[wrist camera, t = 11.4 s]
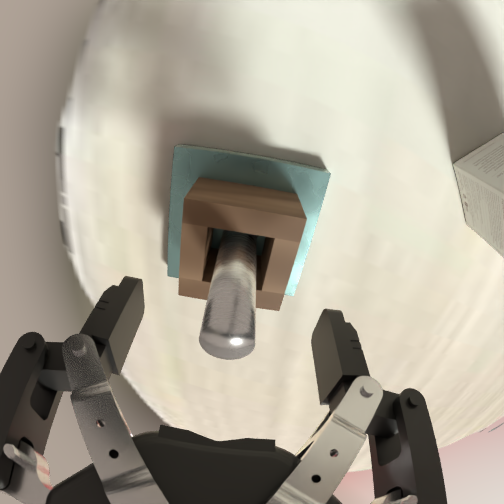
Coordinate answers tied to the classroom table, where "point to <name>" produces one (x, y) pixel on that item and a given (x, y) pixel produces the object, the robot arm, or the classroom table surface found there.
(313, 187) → the post
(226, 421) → the classroom table surface
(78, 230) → the classroom table surface
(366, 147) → the classroom table surface
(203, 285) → the hollow block
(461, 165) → the small box
